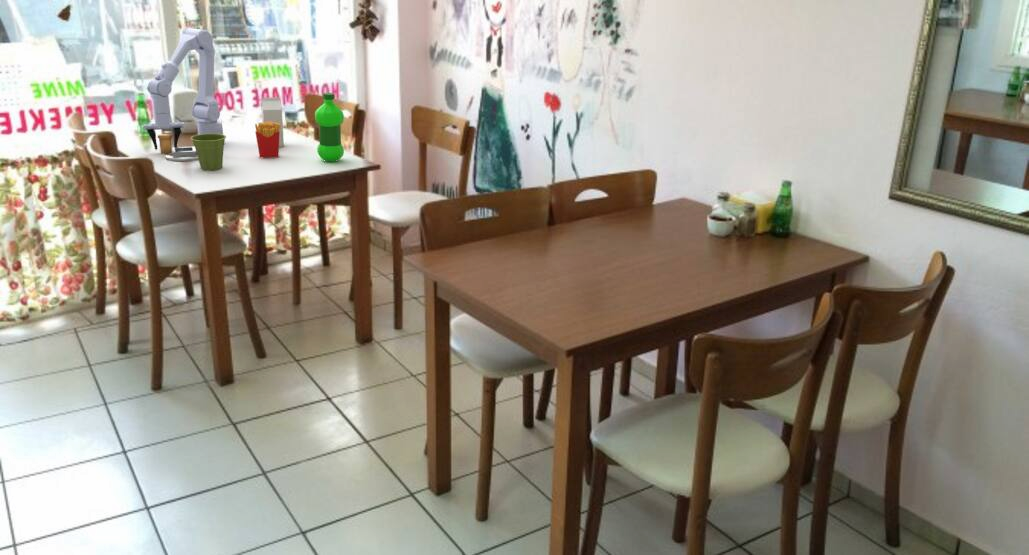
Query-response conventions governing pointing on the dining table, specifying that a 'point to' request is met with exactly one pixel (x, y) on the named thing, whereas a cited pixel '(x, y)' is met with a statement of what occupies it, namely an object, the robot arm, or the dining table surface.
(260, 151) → the french fries
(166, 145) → the pin
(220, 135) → the plant pot
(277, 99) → the milk carton
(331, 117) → the plastic bottle
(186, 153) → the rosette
